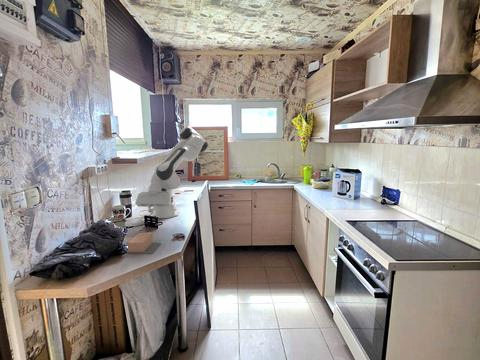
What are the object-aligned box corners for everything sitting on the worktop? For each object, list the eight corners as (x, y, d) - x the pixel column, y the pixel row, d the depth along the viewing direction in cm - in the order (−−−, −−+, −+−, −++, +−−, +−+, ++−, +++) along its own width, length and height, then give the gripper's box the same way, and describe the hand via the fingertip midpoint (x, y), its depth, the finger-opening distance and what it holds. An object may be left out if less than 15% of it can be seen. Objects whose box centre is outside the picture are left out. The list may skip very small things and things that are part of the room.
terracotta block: (139, 232, 143) (127, 242, 130) (153, 232, 143) (143, 242, 129) (139, 241, 144) (128, 252, 130) (153, 241, 144) (143, 252, 130)
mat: (129, 243, 143) (129, 242, 143) (162, 243, 142) (162, 242, 142) (116, 253, 129) (116, 253, 129) (152, 253, 128) (152, 253, 128)
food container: (122, 232, 161) (121, 216, 159) (127, 234, 157) (126, 218, 156) (101, 237, 151) (100, 221, 150) (106, 240, 148) (105, 223, 146)
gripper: (137, 189, 156) (131, 209, 148) (170, 189, 156) (166, 209, 148) (140, 195, 161) (135, 214, 153) (173, 195, 161) (169, 214, 153)
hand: (150, 212), depth 150 cm, fingers closed
